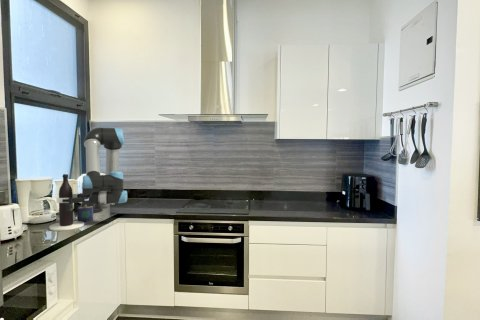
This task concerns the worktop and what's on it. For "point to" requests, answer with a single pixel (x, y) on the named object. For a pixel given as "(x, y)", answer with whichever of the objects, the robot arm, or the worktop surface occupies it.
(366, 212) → the worktop surface
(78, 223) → the ceramic dish
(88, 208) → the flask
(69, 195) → the wine bottle
